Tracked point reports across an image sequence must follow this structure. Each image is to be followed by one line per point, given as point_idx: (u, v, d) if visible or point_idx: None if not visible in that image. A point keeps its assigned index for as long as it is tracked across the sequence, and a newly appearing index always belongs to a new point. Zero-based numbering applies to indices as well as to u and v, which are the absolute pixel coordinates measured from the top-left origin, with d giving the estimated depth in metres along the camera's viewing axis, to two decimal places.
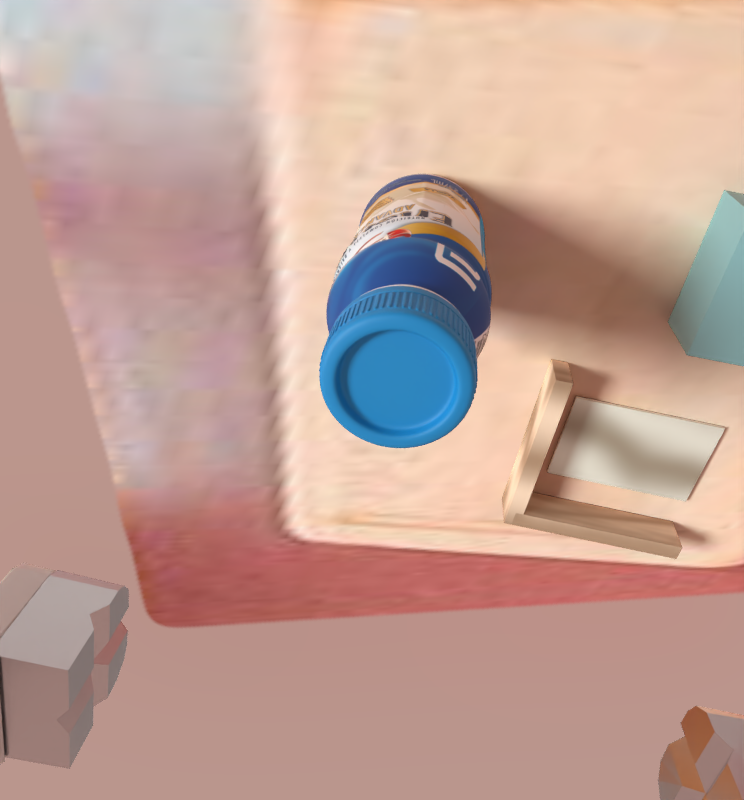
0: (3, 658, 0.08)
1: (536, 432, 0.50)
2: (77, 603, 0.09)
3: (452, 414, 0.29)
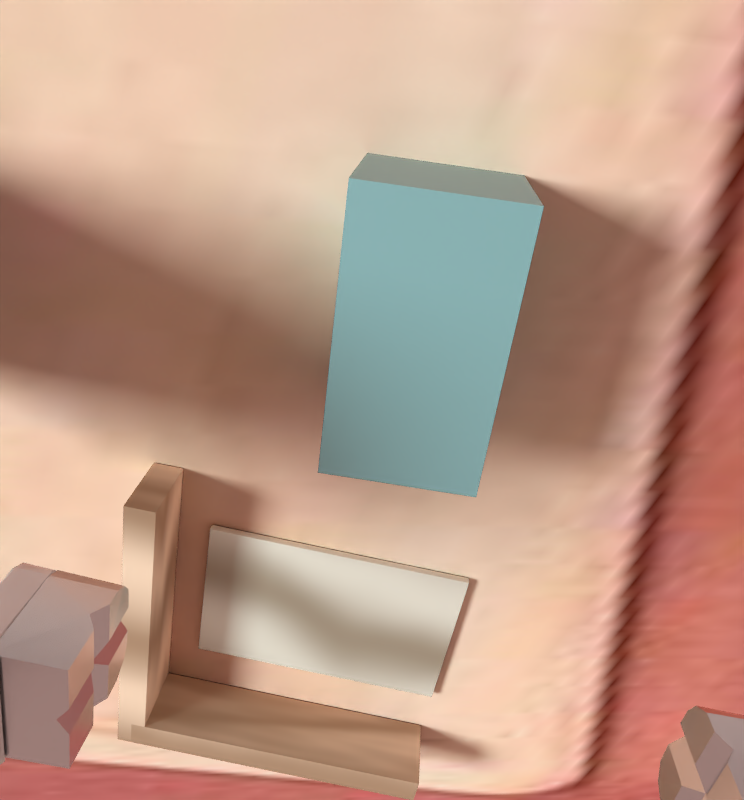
0: (3, 658, 0.08)
1: None
2: (77, 603, 0.09)
3: None
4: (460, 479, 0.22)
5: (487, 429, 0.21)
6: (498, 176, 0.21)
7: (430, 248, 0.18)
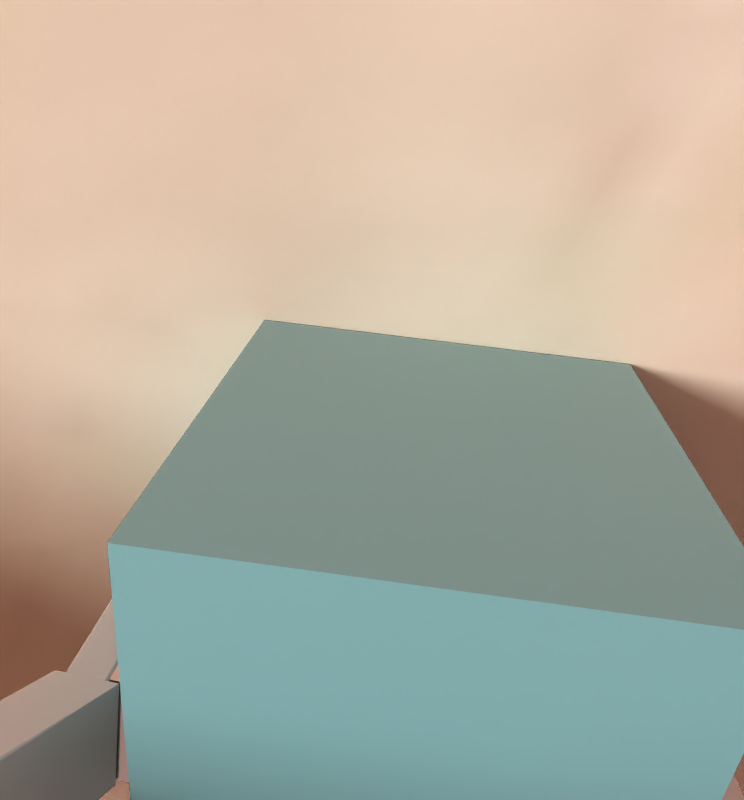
0: None
1: None
2: None
3: None
4: None
5: None
6: (579, 391, 0.08)
7: (401, 729, 0.06)
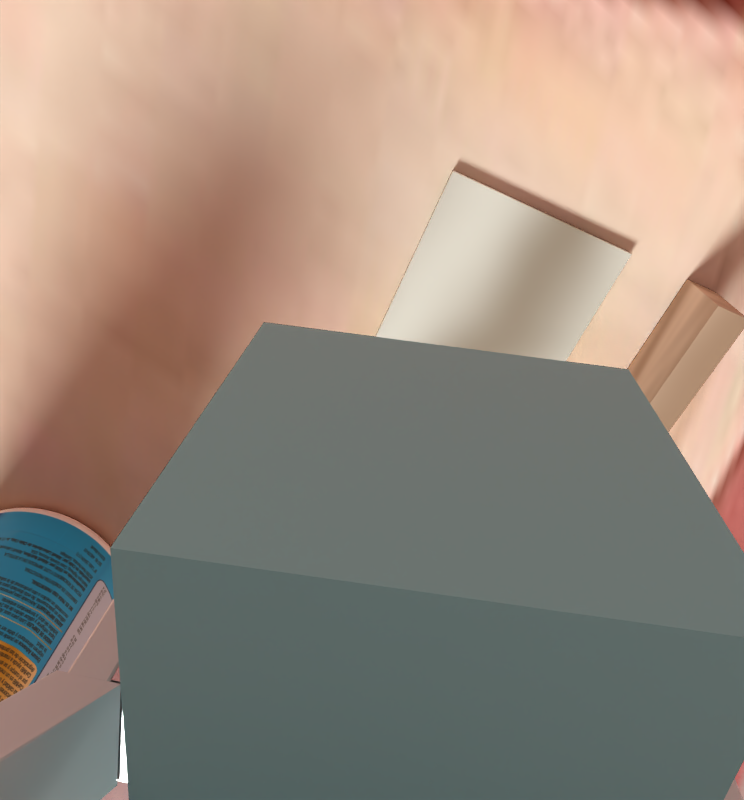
0: None
1: None
2: None
3: None
4: None
5: None
6: (578, 397, 0.08)
7: (403, 734, 0.06)
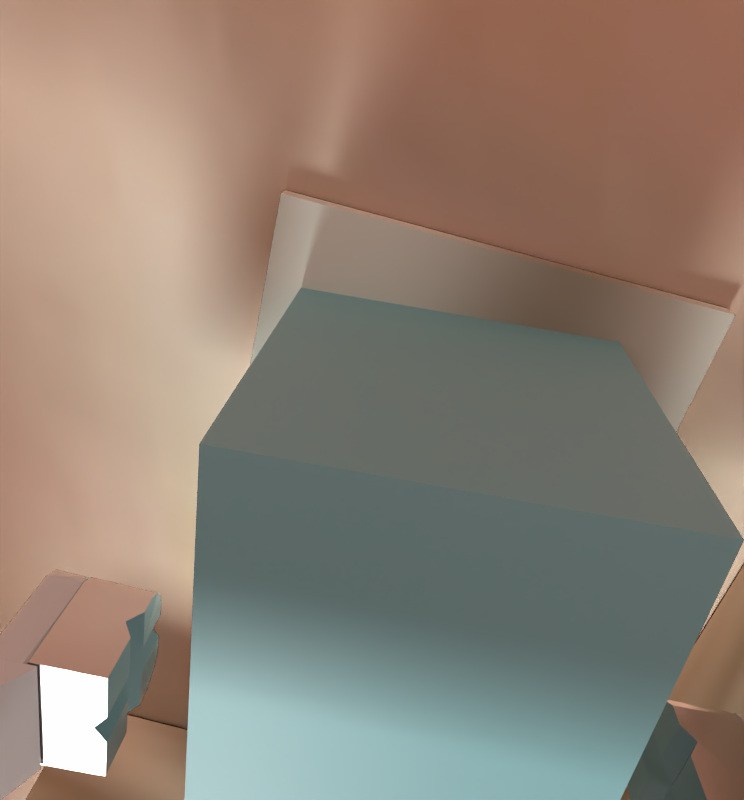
0: (43, 666, 0.08)
1: None
2: (112, 610, 0.09)
3: None
4: None
5: None
6: (574, 360, 0.10)
7: (422, 612, 0.07)
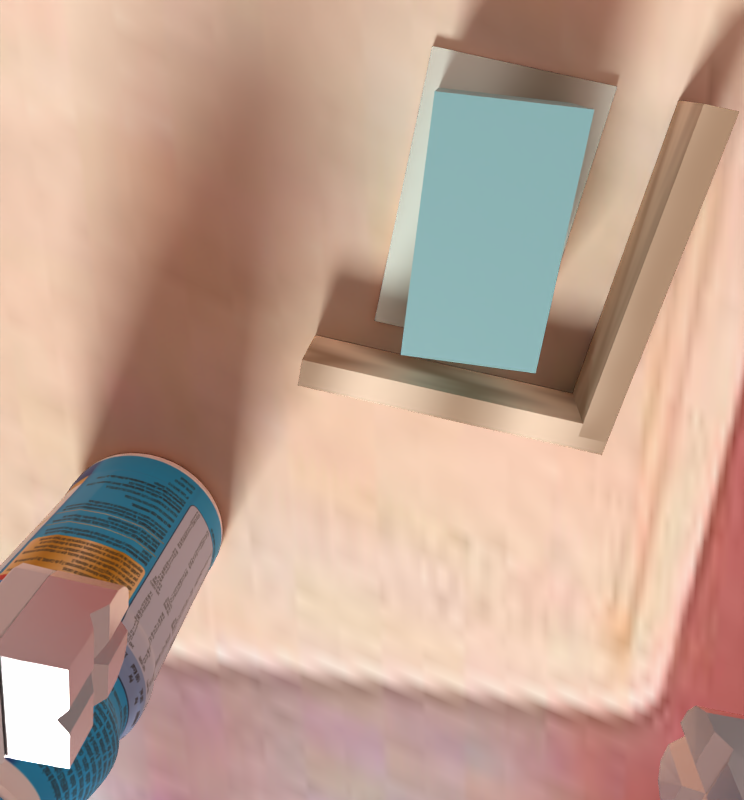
0: (3, 658, 0.08)
1: (401, 407, 0.30)
2: (77, 603, 0.09)
3: None
4: (522, 357, 0.25)
5: (546, 310, 0.25)
6: (551, 101, 0.25)
7: (500, 149, 0.22)
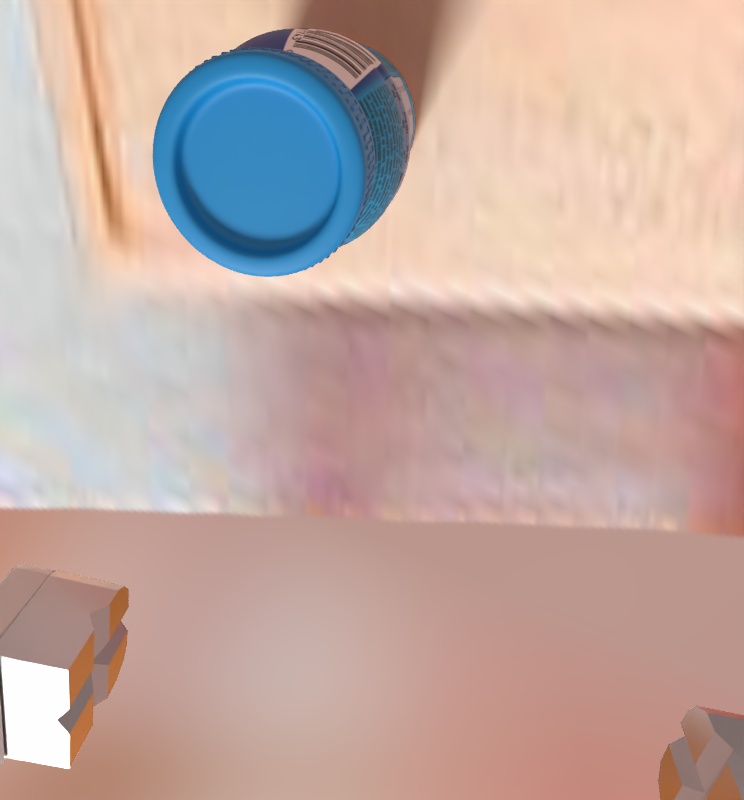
0: (3, 658, 0.08)
1: None
2: (77, 603, 0.09)
3: (293, 84, 0.20)
4: None
5: None
6: None
7: None
